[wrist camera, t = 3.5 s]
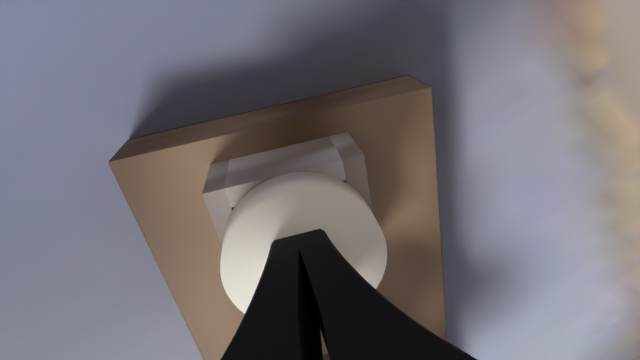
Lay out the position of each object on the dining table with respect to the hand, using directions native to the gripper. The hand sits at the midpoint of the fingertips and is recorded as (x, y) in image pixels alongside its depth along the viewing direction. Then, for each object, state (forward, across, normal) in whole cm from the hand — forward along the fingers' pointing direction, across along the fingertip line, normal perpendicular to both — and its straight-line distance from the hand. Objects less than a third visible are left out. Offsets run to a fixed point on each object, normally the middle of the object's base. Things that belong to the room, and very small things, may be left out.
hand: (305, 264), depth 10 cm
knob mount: (+5, 0, +7) cm, 9 cm away
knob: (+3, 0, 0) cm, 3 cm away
